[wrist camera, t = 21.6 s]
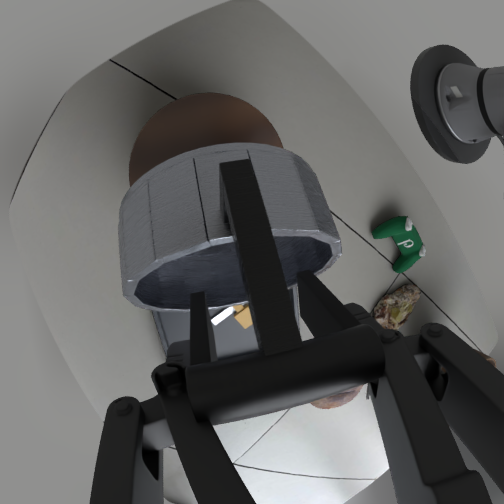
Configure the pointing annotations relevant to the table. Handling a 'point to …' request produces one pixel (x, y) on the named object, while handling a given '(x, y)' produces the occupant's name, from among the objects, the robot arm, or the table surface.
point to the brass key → (243, 315)
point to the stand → (198, 129)
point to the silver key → (223, 314)
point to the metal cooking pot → (242, 273)
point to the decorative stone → (337, 399)
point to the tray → (226, 332)
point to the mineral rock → (396, 307)
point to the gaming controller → (402, 241)
